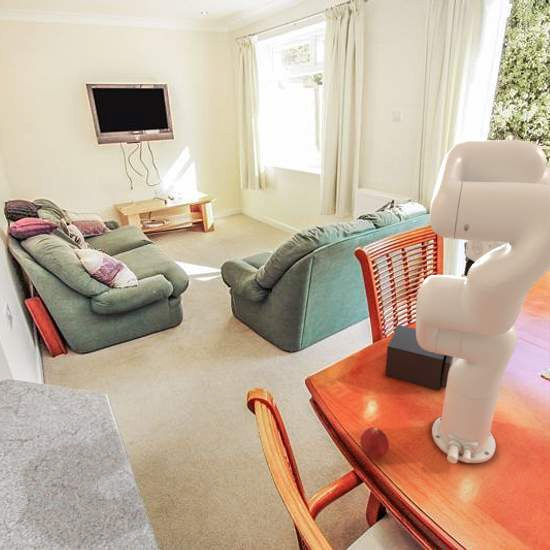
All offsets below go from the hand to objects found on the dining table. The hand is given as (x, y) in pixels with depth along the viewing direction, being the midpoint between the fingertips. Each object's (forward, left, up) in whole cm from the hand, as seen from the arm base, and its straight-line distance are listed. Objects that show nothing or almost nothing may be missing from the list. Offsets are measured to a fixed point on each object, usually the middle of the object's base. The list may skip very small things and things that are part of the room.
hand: (481, 282), depth 99 cm
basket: (-12, +7, -23) cm, 27 cm away
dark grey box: (-12, +12, -24) cm, 30 cm away
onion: (-45, +14, -25) cm, 53 cm away
